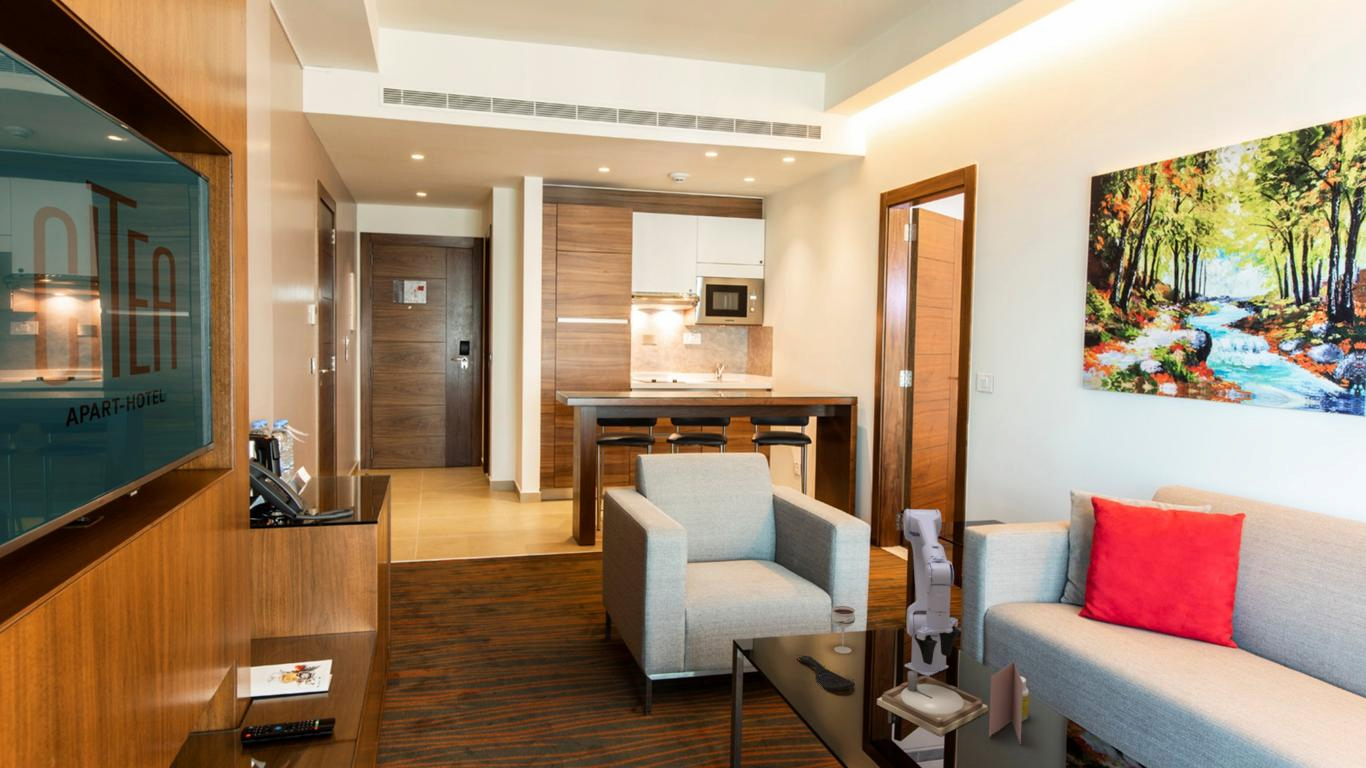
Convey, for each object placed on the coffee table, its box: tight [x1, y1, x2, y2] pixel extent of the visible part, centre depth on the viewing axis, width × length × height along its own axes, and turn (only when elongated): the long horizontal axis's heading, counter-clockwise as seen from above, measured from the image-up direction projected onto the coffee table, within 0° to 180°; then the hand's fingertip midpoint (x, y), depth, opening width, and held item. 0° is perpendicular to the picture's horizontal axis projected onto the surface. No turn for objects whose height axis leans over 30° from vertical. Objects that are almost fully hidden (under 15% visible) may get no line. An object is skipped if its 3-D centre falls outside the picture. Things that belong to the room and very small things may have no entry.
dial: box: [901, 670, 964, 717], centre depth 208 cm, size 15×15×5 cm
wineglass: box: [831, 605, 856, 654], centre depth 242 cm, size 7×7×12 cm
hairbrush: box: [799, 655, 856, 691], centre depth 226 cm, size 8×4×25 cm
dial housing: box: [876, 675, 989, 737], centre depth 208 cm, size 19×19×3 cm
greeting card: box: [988, 661, 1023, 745], centre depth 195 cm, size 11×7×15 cm, turn 133°
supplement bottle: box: [1020, 675, 1030, 720], centre depth 204 cm, size 5×5×10 cm
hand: (936, 659), depth 215 cm, fingers open, 7 cm apart
